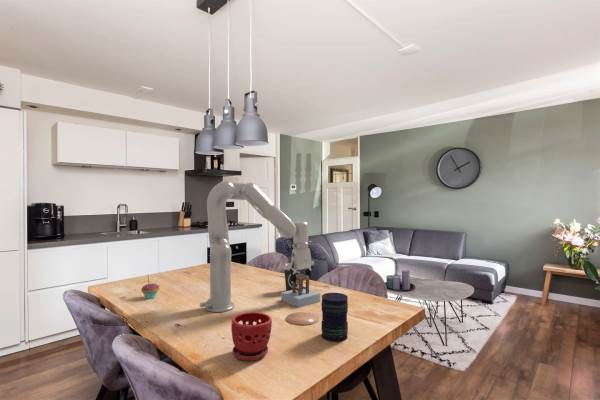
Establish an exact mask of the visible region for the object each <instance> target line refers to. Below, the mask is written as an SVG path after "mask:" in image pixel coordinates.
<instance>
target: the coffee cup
mask: <svg viewBox="0 0 600 400" xmlns="http://www.w3.org/2000/svg"><path fill="white" fill-rule="evenodd" d="M289 263H290V262H289ZM289 263H284V266H283V267H282V268H283V271H284V281H285V282H284V283H285V292H286V291H290V290H292V281H291V273H290V272H289V271H288V268H287V265H288V264H289ZM291 269H292V267H291ZM293 271H294V270H293ZM300 271H301V270H297V271H296V273H295V274H296V275H299V274H300ZM296 288H297V289H298V281H297V280H296Z"/></svg>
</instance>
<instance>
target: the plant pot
mask: <svg viewBox="0 0 600 400" xmlns="http://www.w3.org/2000/svg"><path fill="white" fill-rule="evenodd" d="M272 319H273V318H272V316H270V315H268V314H266V313H262V312H243V313H239V314H236V315H234V316H233V317H232V318H231V325H230V327H231V328H230V329H231V337H232V338H231V339H232V343H233V348H232V354H233V355H234V356H235V358H237V359H239V360H241V361H247V362H248V361H256V360H259V359H261V358H264V357H265V356H266V355H267V354H268V351H269V347H268V344H269V341H270V338H271V333H272V327H273V325H272V322H273V320H272ZM240 322H242V323H240ZM247 322H248V323H247ZM254 322H255V324H254Z"/></svg>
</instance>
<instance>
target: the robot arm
mask: <svg viewBox="0 0 600 400" xmlns="http://www.w3.org/2000/svg"><path fill="white" fill-rule="evenodd" d="M228 200H236V201H237V200H239V201H247V203H248V204H250V205H251V206H252V208H253V209H254V210H255V211H256V212H257V213H258V214H259V215H260V216H261V217H262V218H264V219H265V220H267V221H268V222H270V224H272V225H273V226H274V227H275V228H276V229H277V232H278V234H279V235H280V236H282V237H284V238H285V239H293V242H292V243H293V244H292V246H291V247H292V248H293V249H292V250H291V260H290V262H289V264H288V263H287V264H288V265H287V268H288V271H289V272H290V273H291V281H292V282H296V274H295V273H296V271H297V270H300V271H301V270H305V275H307V276H309V280H310V279H311V278H312V274H311V273H312V272H311V271H312V270H313V267H314V265H315V261H314V260H313V259H312V255H311V249H310V248H309V223H308V222H307V221H295V222H294V221H292V220H291V218H289V217H288V216H287V215H286V214H285V213H284V212H283V211H282V210H281V209H280V208H279V207H278V206H277V205H276V204H275V203H274V202H273V201H272V200H271V199H270V198H269V196H268V195H266V193H264V192H263V191H262V189H261V188H260V187H258V185H256V184H255V183H253V182H247V183H240V182H231V181H230V180H223V181H220V182H219V183H217V184H216V185H214V186H213V187H212V188H211V190H210V191H209V193H208V196H207V201H206V210H207V224H208V225H207V231H208V241H209V249H210V250H209V298H208V299H207V300H206V301H205V302H204V301H203V302H200V303H199V308H203V307H204V309H206V310H207V311H208V312H212V313H222V312H224V313H225V312H229V311H231V310H233V309H234V308H235V303H233V302H232V247H231V246H230V238H229V224H228V219H227V218H228V217H227V207H226V204H227V201H228ZM291 267H292V269H291ZM293 270H294V271H293Z"/></svg>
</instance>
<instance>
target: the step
mask: <svg viewBox="0 0 600 400" xmlns="http://www.w3.org/2000/svg"><path fill="white" fill-rule="evenodd" d="M280 293H281V295H280V297H281V299H280V300H281V301H282V302H284V303H287V304H290V305H291V306H294V307H297V308H301V307H307V306H309V305H312V304H317V303H321V293H320V292H318V291H317V292H316V291H314V290H310V289H309V293H308V294H307V293H306V289H303V291H302V295H298V291H297V290H296V293H292V290H290V291H286V290H285V291H282V292H280Z"/></svg>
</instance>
